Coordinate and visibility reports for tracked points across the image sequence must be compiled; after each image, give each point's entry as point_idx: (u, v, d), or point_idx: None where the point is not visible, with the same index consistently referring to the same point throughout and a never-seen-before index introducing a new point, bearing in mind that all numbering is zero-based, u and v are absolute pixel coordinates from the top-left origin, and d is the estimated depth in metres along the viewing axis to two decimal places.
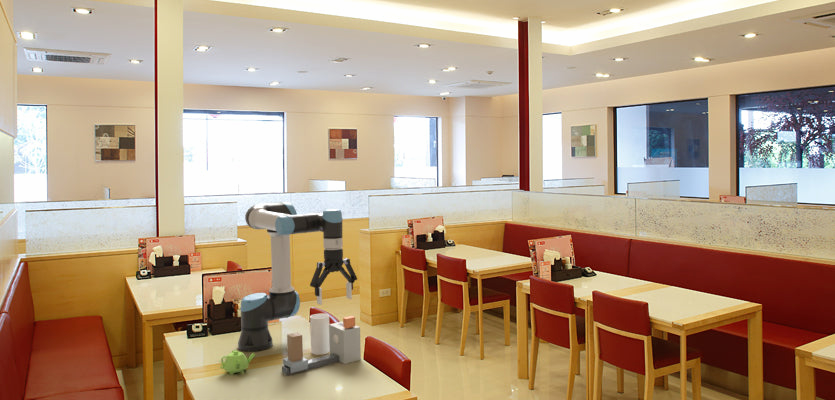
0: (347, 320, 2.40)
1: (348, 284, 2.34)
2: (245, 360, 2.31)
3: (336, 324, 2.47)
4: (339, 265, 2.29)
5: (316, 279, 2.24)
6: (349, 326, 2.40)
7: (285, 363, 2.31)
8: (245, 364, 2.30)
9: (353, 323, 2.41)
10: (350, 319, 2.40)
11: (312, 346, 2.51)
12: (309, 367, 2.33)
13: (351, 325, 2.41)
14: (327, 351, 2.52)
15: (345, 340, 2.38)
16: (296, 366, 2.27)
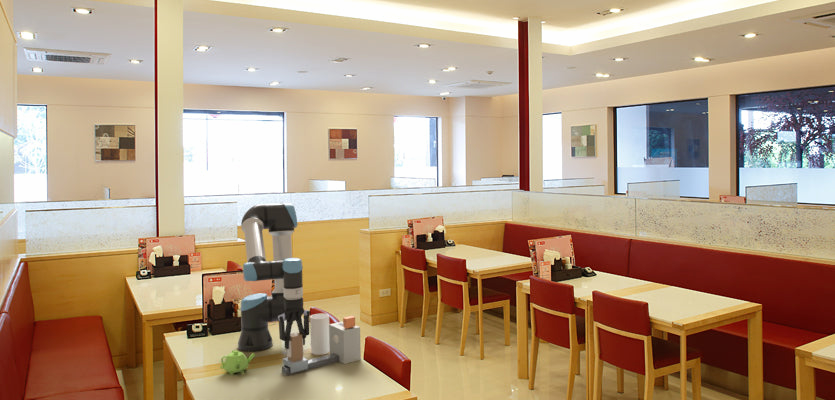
0: (347, 320, 2.40)
1: None
2: (245, 360, 2.31)
3: (336, 324, 2.47)
4: (299, 314, 2.29)
5: (283, 332, 2.26)
6: (349, 326, 2.40)
7: (285, 363, 2.31)
8: (245, 364, 2.30)
9: (353, 323, 2.41)
10: (350, 319, 2.40)
11: (312, 346, 2.51)
12: (309, 367, 2.33)
13: (351, 325, 2.41)
14: (327, 351, 2.52)
15: (345, 340, 2.38)
16: (296, 366, 2.27)
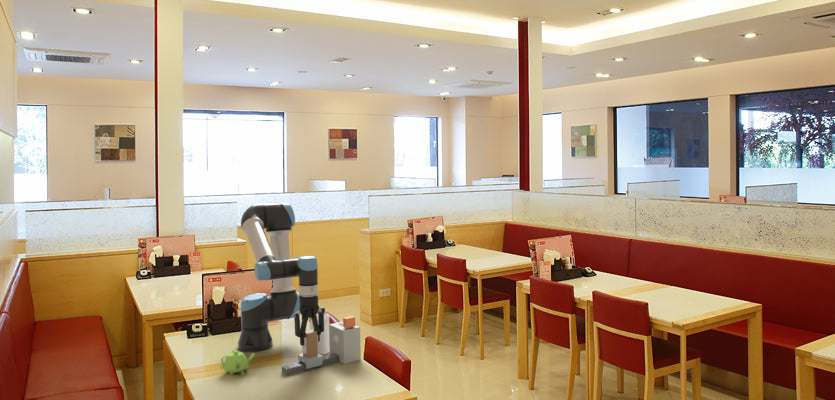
0: (347, 320, 2.40)
1: None
2: (245, 360, 2.31)
3: (336, 324, 2.47)
4: (314, 311, 2.33)
5: (298, 329, 2.30)
6: (349, 326, 2.40)
7: (300, 359, 2.35)
8: (245, 364, 2.30)
9: (353, 323, 2.41)
10: (350, 319, 2.40)
11: None
12: None
13: (351, 325, 2.41)
14: (327, 351, 2.52)
15: (345, 340, 2.38)
16: (311, 362, 2.31)
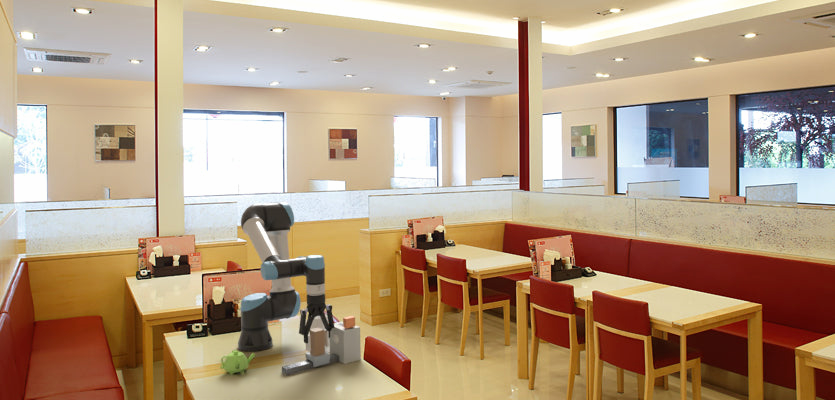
0: (347, 320, 2.40)
1: (325, 332, 2.39)
2: (245, 360, 2.31)
3: (336, 324, 2.47)
4: (321, 310, 2.35)
5: (303, 327, 2.31)
6: (349, 326, 2.40)
7: (307, 357, 2.37)
8: (245, 364, 2.30)
9: (353, 323, 2.41)
10: (350, 319, 2.40)
11: None
12: (309, 367, 2.33)
13: (351, 325, 2.41)
14: (327, 351, 2.52)
15: (345, 340, 2.38)
16: (319, 360, 2.33)
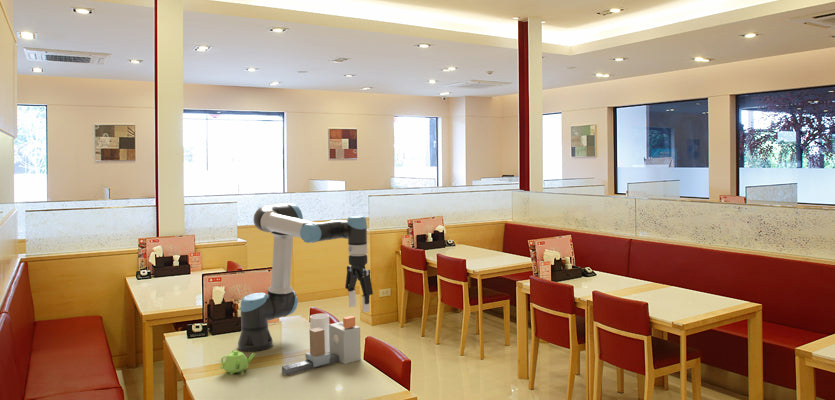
0: (347, 320, 2.40)
1: None
2: (245, 360, 2.31)
3: (336, 324, 2.47)
4: (356, 272, 2.31)
5: (346, 281, 2.39)
6: (349, 326, 2.40)
7: (307, 357, 2.37)
8: (245, 364, 2.30)
9: (353, 323, 2.41)
10: (350, 319, 2.40)
11: None
12: (309, 367, 2.33)
13: (351, 325, 2.41)
14: (327, 351, 2.52)
15: (345, 340, 2.38)
16: (319, 360, 2.33)
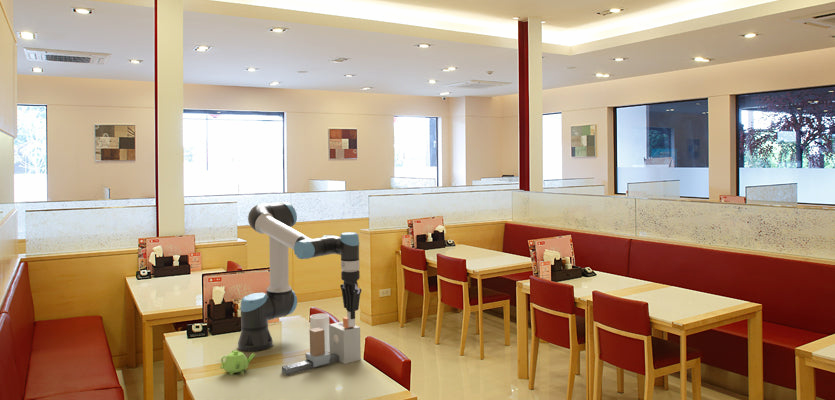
0: (347, 320, 2.40)
1: None
2: (245, 360, 2.31)
3: (336, 324, 2.47)
4: (348, 287, 2.37)
5: (343, 300, 2.42)
6: None
7: (307, 357, 2.37)
8: (245, 364, 2.30)
9: None
10: None
11: None
12: (309, 367, 2.33)
13: None
14: (327, 351, 2.52)
15: (345, 340, 2.38)
16: (319, 360, 2.33)
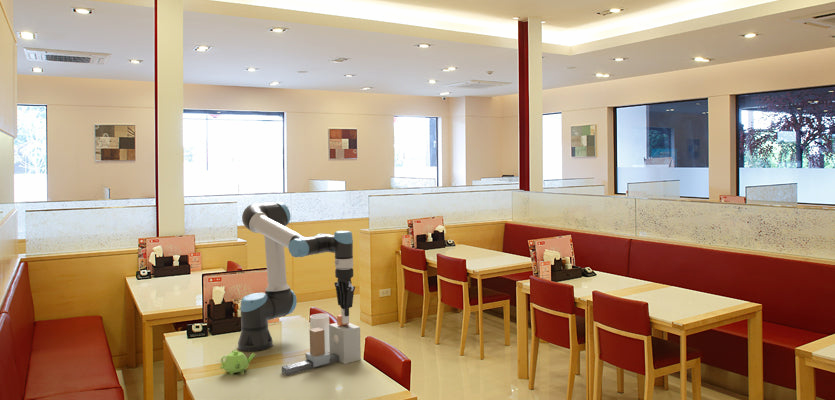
0: (341, 318, 2.43)
1: None
2: (245, 360, 2.31)
3: (336, 324, 2.47)
4: (342, 285, 2.40)
5: (337, 297, 2.45)
6: None
7: (307, 357, 2.37)
8: (245, 364, 2.30)
9: None
10: None
11: None
12: (309, 367, 2.33)
13: None
14: (327, 351, 2.52)
15: (345, 340, 2.38)
16: (319, 360, 2.33)
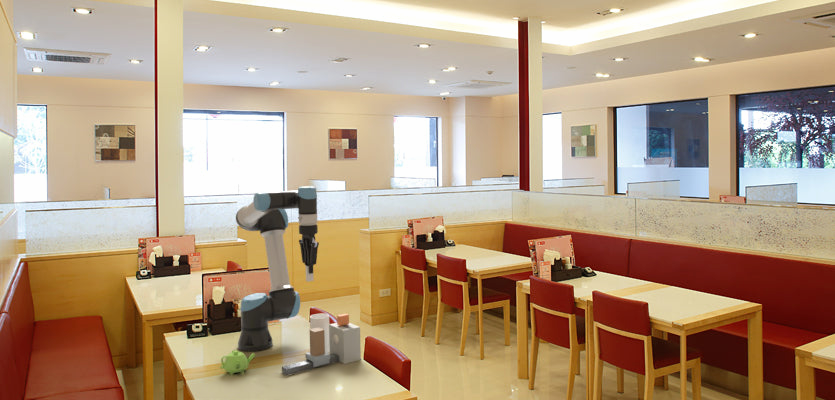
0: (341, 318, 2.43)
1: None
2: (245, 360, 2.31)
3: (336, 324, 2.47)
4: (305, 241, 2.36)
5: (302, 255, 2.40)
6: (343, 323, 2.44)
7: (307, 357, 2.37)
8: (245, 364, 2.30)
9: (347, 320, 2.45)
10: (344, 317, 2.44)
11: None
12: (309, 367, 2.33)
13: (345, 322, 2.45)
14: (327, 351, 2.52)
15: (345, 340, 2.38)
16: (319, 360, 2.33)
